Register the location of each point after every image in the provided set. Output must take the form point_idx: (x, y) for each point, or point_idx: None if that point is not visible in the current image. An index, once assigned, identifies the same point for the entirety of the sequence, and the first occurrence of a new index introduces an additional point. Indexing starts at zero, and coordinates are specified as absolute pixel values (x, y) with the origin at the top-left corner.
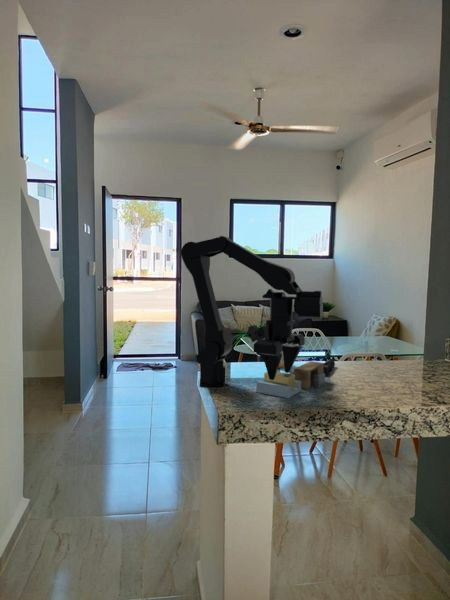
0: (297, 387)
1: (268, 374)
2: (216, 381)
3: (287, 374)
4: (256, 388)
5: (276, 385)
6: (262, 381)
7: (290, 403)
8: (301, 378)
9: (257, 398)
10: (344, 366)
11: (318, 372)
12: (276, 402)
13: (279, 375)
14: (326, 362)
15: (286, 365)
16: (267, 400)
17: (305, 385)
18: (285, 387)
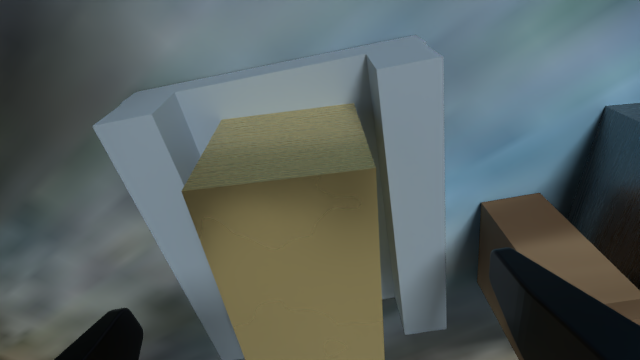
0: (394, 293)
1: (62, 356)
2: None
3: (349, 351)
4: (121, 103)
5: (187, 295)
6: (166, 153)
7: (173, 343)
8: None
9: (44, 198)
10: None
11: None
12: (114, 302)
13: (252, 334)
14: None
15: (536, 329)
16: (87, 258)
17: (488, 291)
18: (213, 343)
